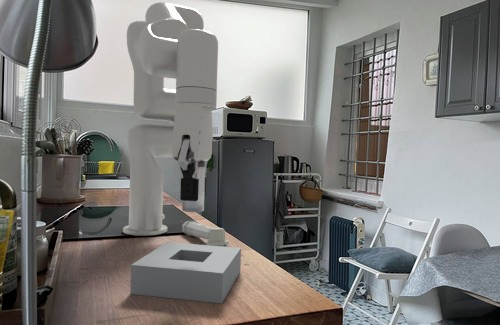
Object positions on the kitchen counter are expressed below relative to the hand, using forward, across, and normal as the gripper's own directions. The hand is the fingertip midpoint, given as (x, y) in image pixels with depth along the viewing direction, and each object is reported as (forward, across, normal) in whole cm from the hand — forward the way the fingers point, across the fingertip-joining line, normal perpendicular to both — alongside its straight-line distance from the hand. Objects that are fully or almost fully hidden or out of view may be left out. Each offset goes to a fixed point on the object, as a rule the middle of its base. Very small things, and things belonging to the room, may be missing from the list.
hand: (193, 198), depth 68 cm
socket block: (+16, 0, 0) cm, 16 cm away
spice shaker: (+2, 0, 0) cm, 2 cm away
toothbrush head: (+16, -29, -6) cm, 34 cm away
